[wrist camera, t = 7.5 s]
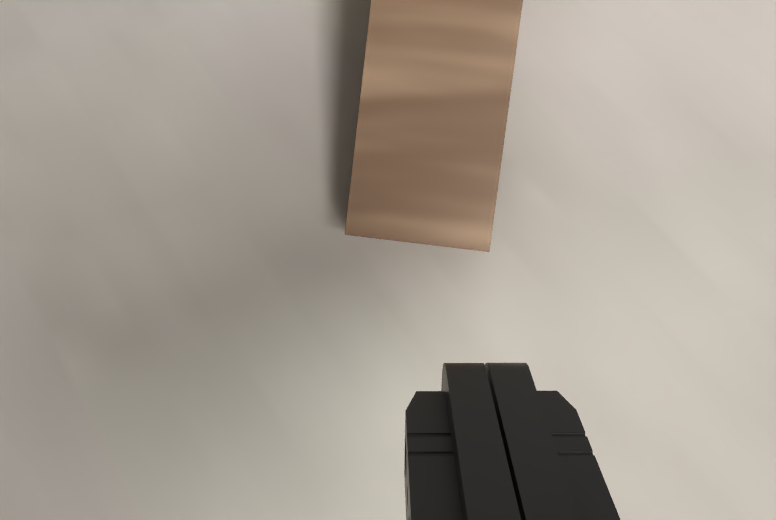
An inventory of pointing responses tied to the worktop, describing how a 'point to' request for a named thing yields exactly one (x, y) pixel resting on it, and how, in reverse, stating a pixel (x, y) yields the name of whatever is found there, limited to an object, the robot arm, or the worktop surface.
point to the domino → (432, 120)
